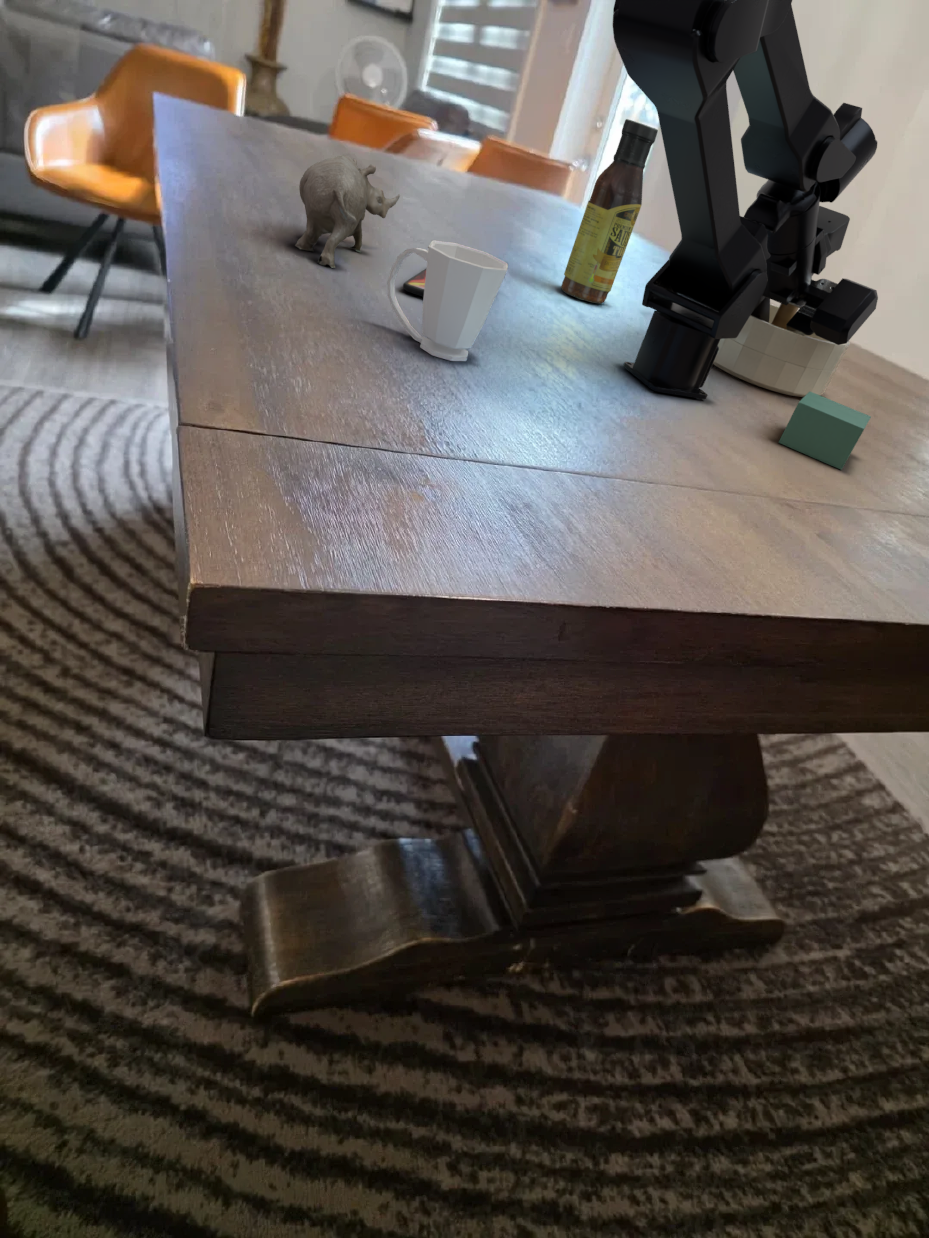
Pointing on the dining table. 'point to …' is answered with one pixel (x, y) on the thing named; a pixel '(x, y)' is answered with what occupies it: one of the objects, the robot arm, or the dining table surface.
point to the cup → (451, 296)
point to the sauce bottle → (609, 217)
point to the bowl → (780, 358)
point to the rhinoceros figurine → (338, 203)
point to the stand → (824, 429)
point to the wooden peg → (784, 315)
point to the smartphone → (416, 284)
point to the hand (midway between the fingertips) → (779, 339)
